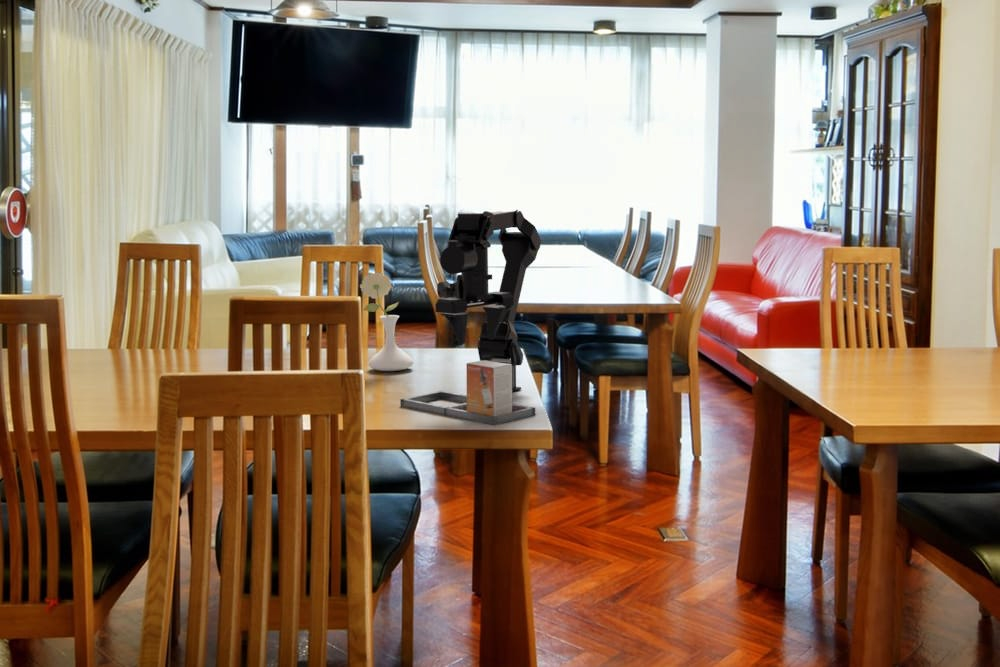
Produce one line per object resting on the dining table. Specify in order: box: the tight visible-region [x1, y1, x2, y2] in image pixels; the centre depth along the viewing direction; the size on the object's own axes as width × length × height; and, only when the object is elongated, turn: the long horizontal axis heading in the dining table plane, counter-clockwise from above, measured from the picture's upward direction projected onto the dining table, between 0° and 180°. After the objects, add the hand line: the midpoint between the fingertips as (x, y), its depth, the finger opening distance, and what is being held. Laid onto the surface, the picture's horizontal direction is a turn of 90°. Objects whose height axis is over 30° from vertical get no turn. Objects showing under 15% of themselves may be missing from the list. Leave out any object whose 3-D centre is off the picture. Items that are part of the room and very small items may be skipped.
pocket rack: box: [399, 390, 536, 426], centre depth 226 cm, size 12×28×2 cm, turn 46°
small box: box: [466, 360, 513, 416], centre depth 221 cm, size 8×6×10 cm
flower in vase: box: [359, 271, 414, 372], centre depth 274 cm, size 13×11×25 cm
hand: (476, 342), depth 234 cm, fingers open, 9 cm apart
